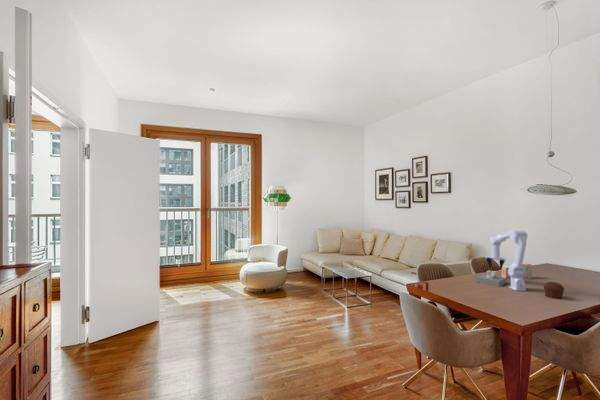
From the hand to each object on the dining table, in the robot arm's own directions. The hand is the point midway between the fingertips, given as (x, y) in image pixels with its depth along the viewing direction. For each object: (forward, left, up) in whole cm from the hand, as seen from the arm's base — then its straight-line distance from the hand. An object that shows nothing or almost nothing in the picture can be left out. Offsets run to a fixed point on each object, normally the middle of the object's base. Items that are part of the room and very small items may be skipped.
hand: (495, 268), depth 251 cm
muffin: (-40, -18, -11) cm, 45 cm away
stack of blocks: (+13, -23, -11) cm, 28 cm away
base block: (-6, +6, -10) cm, 13 cm away
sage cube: (-6, +6, -6) cm, 11 cm away
